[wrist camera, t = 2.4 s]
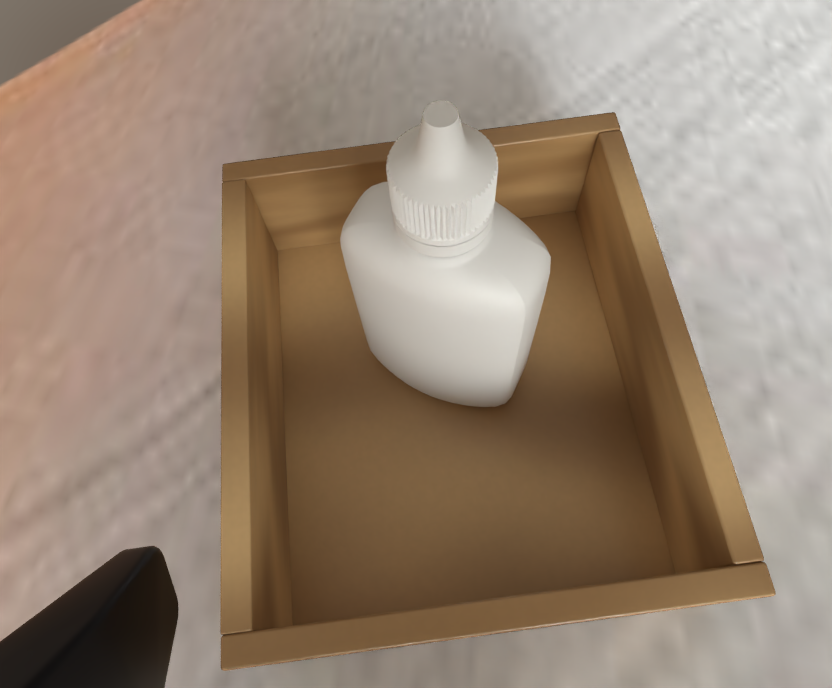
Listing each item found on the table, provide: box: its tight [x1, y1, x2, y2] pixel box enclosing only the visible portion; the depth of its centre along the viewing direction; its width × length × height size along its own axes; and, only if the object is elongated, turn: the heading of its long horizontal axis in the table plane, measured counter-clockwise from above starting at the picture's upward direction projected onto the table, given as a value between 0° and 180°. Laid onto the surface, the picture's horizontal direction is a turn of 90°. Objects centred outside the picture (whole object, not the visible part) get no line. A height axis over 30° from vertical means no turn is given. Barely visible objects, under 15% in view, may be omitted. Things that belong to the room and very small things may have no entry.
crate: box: [221, 112, 776, 671], centre depth 21 cm, size 16×14×5 cm
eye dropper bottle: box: [340, 100, 551, 407], centre depth 18 cm, size 4×6×12 cm
